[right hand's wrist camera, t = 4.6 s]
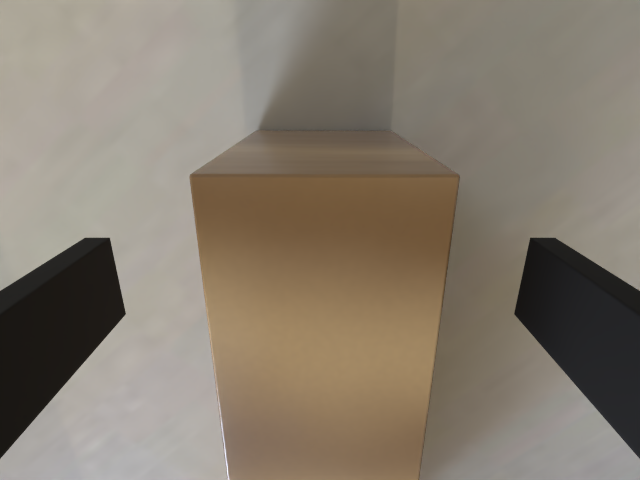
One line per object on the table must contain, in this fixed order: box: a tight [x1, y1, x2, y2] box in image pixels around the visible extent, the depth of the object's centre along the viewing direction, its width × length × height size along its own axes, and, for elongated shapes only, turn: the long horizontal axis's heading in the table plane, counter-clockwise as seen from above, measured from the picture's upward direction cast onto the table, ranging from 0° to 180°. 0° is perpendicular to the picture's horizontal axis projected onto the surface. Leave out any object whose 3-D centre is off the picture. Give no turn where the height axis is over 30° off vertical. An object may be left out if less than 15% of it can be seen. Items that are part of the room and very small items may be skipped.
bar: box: [190, 130, 460, 480], centre depth 16 cm, size 24×6×8 cm, turn 0°
